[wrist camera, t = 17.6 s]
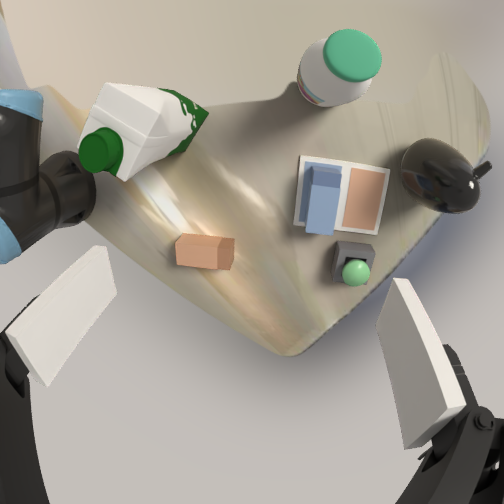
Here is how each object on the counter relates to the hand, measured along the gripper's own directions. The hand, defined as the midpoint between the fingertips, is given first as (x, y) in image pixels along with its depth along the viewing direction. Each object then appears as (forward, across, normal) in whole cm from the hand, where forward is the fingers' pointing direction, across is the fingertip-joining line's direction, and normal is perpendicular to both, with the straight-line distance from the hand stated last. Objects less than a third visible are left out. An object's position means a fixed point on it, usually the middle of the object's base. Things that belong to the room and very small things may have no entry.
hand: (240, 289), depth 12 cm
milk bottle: (+32, +6, +13) cm, 35 cm away
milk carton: (+32, -15, +6) cm, 36 cm away
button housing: (+32, +14, -14) cm, 38 cm away
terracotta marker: (+32, -10, -15) cm, 37 cm away
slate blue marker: (+31, +7, -4) cm, 32 cm away
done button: (+29, +14, -14) cm, 36 cm away
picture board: (+32, +10, -4) cm, 34 cm away
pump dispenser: (+32, +23, +3) cm, 39 cm away
